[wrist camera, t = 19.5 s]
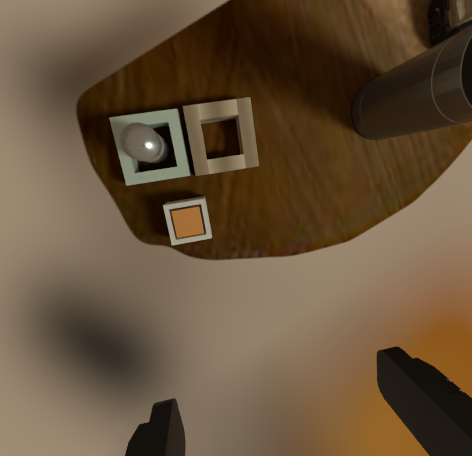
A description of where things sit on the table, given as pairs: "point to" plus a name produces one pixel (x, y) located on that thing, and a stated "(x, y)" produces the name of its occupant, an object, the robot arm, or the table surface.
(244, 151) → the socket block
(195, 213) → the orange cube
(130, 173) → the frame
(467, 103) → the robot arm
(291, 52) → the table surface
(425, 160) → the table surface
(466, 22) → the cordless drill
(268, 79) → the table surface
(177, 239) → the housing
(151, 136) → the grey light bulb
